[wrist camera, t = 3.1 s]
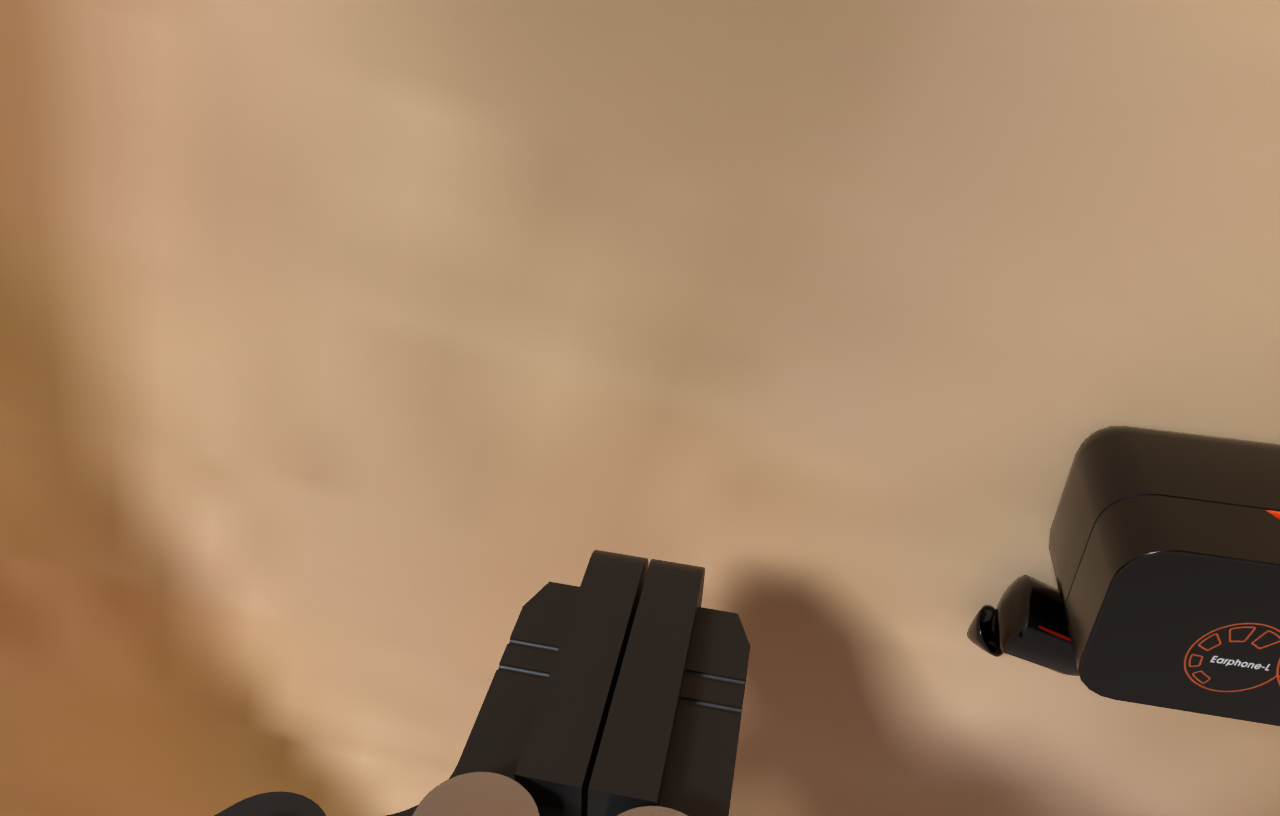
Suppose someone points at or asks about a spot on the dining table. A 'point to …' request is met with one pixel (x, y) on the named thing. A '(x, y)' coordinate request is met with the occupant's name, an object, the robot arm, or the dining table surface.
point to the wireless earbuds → (1158, 576)
